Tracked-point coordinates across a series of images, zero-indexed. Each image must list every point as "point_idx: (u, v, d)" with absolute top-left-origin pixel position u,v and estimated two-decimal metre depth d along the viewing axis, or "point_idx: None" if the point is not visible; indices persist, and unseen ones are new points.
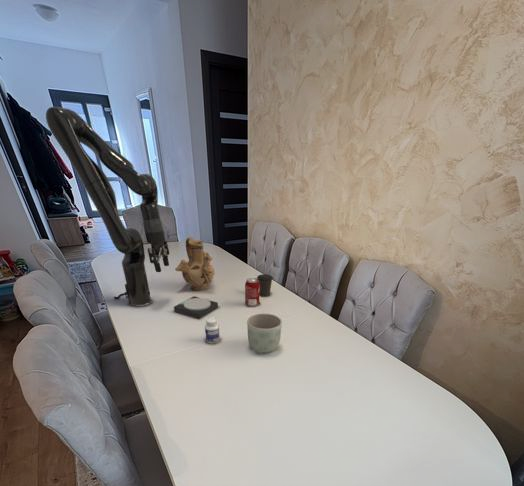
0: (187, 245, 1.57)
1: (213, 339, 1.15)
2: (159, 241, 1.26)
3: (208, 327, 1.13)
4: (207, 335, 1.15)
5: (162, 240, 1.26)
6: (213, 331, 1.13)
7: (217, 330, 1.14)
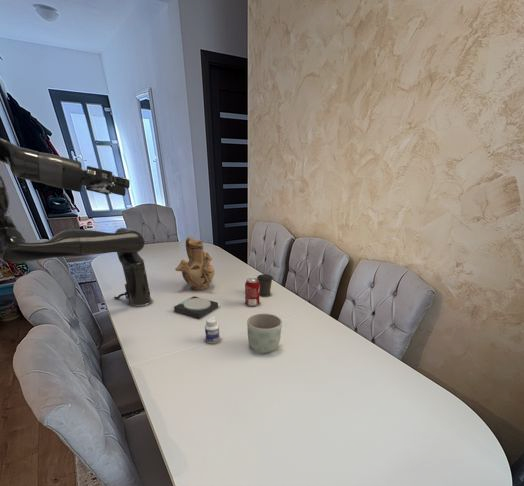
0: (187, 245, 1.57)
1: (213, 339, 1.15)
2: (78, 163, 0.80)
3: (208, 327, 1.13)
4: (207, 335, 1.15)
5: (77, 161, 0.81)
6: (213, 331, 1.13)
7: (217, 330, 1.14)
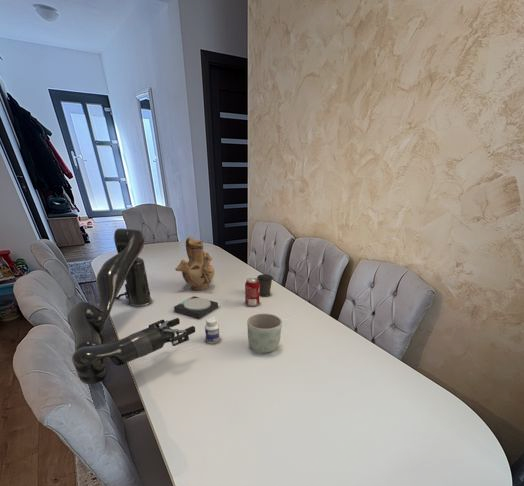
0: (187, 245, 1.57)
1: (213, 339, 1.15)
2: (158, 333, 0.94)
3: (208, 327, 1.13)
4: (207, 335, 1.15)
5: (156, 330, 0.94)
6: (213, 331, 1.13)
7: (217, 330, 1.14)
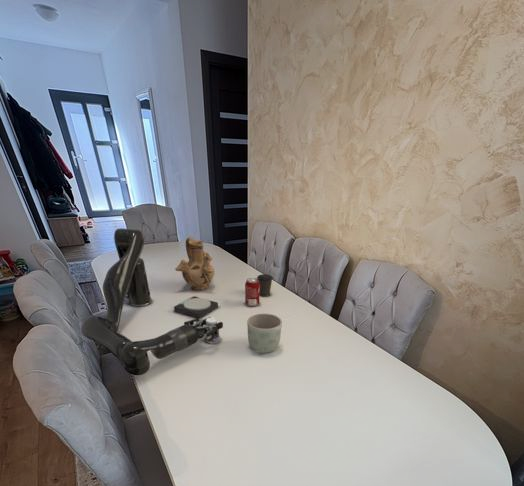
0: (187, 245, 1.57)
1: (213, 339, 1.15)
2: (193, 330, 1.05)
3: None
4: None
5: (190, 327, 1.05)
6: None
7: None
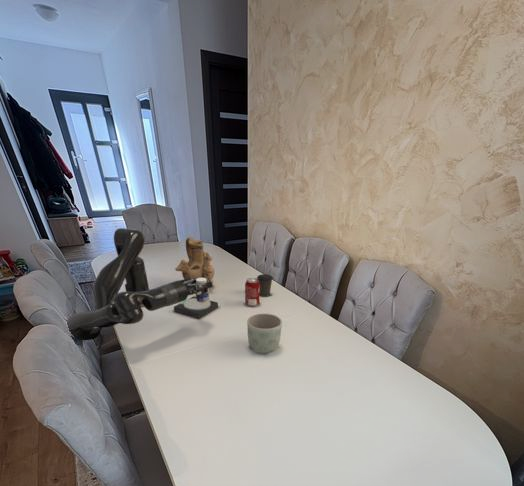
0: (187, 245, 1.57)
1: (203, 298, 1.20)
2: (183, 286, 1.10)
3: None
4: None
5: (181, 283, 1.10)
6: None
7: (207, 289, 1.20)
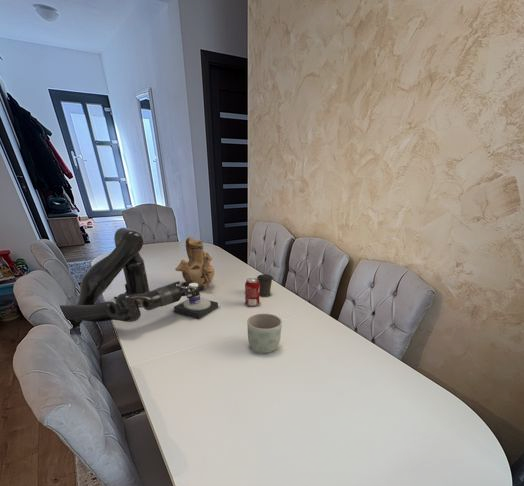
0: (187, 245, 1.57)
1: (195, 301, 1.35)
2: (177, 288, 1.25)
3: None
4: (190, 298, 1.35)
5: (175, 285, 1.25)
6: None
7: (199, 293, 1.35)
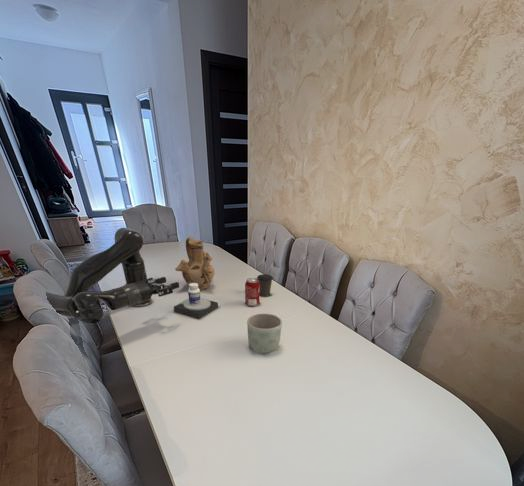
0: (187, 245, 1.57)
1: (195, 301, 1.35)
2: (147, 285, 1.12)
3: (190, 290, 1.33)
4: (190, 298, 1.35)
5: (144, 282, 1.12)
6: (194, 294, 1.34)
7: (199, 293, 1.35)
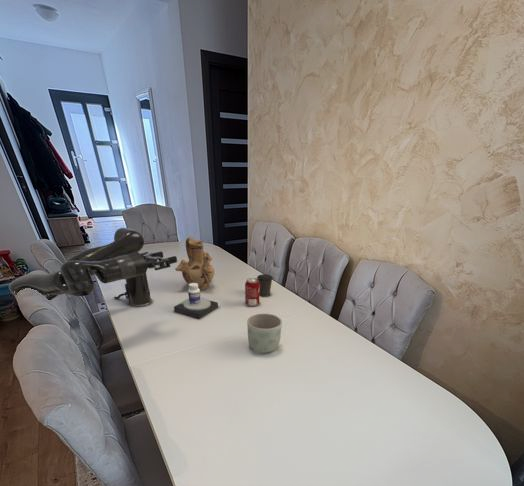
0: (187, 245, 1.57)
1: (195, 301, 1.35)
2: (142, 257, 1.03)
3: (190, 290, 1.33)
4: (190, 298, 1.35)
5: (139, 254, 1.03)
6: (194, 294, 1.34)
7: (199, 293, 1.35)
